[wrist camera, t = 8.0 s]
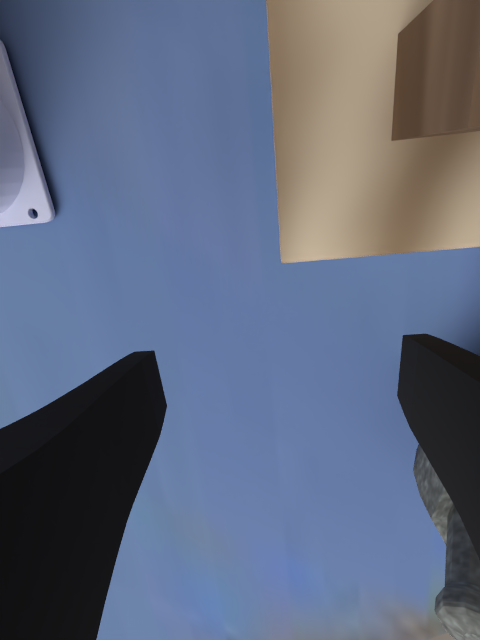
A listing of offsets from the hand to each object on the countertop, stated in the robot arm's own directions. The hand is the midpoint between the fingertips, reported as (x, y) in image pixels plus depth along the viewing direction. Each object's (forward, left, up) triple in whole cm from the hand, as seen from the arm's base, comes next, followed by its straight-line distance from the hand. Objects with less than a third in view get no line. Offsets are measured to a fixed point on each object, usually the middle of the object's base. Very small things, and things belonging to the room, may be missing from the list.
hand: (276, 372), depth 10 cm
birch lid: (+6, +7, -6) cm, 11 cm away
